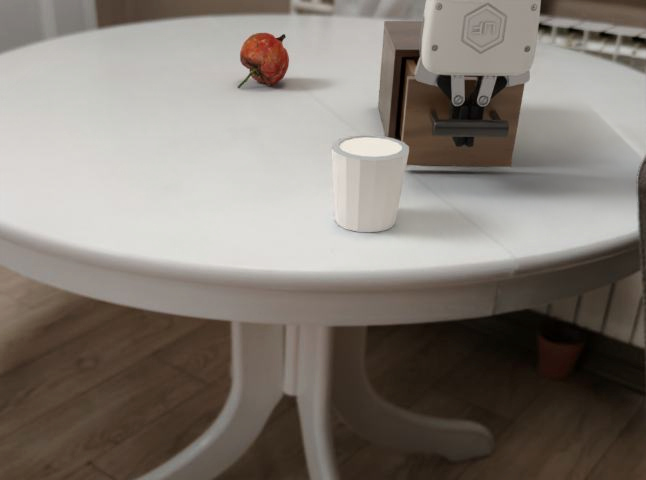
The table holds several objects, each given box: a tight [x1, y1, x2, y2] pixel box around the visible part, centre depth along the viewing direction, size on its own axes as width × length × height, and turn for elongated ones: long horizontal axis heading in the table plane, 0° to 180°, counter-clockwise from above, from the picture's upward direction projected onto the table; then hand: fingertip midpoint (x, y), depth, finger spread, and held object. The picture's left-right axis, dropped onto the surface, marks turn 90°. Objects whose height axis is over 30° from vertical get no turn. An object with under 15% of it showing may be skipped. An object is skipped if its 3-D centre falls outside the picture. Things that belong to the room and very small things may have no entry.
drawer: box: [396, 57, 526, 167], centre depth 85 cm, size 20×11×9 cm, turn 177°
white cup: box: [331, 134, 409, 233], centre depth 73 cm, size 7×7×7 cm
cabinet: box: [377, 20, 423, 141], centre depth 96 cm, size 16×13×11 cm
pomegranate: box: [237, 32, 290, 89], centre depth 113 cm, size 7×7×10 cm
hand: (462, 142), depth 80 cm, fingers closed
